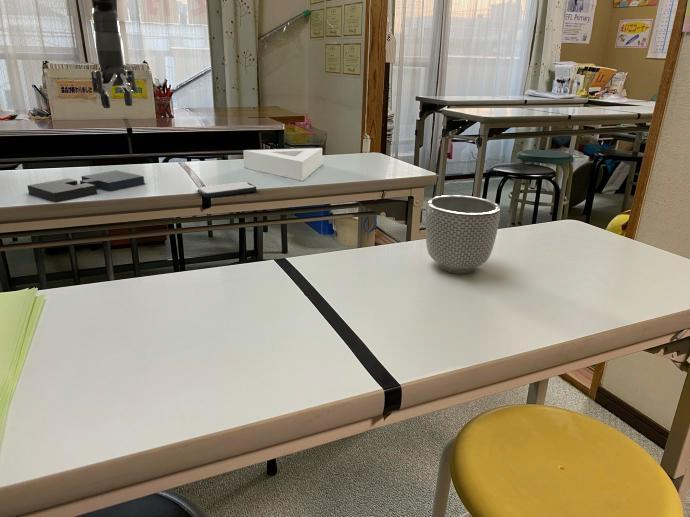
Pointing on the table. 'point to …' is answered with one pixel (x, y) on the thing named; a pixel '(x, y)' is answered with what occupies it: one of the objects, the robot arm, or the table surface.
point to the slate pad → (113, 180)
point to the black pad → (61, 190)
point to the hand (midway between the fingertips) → (118, 106)
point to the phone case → (226, 189)
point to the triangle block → (284, 161)
